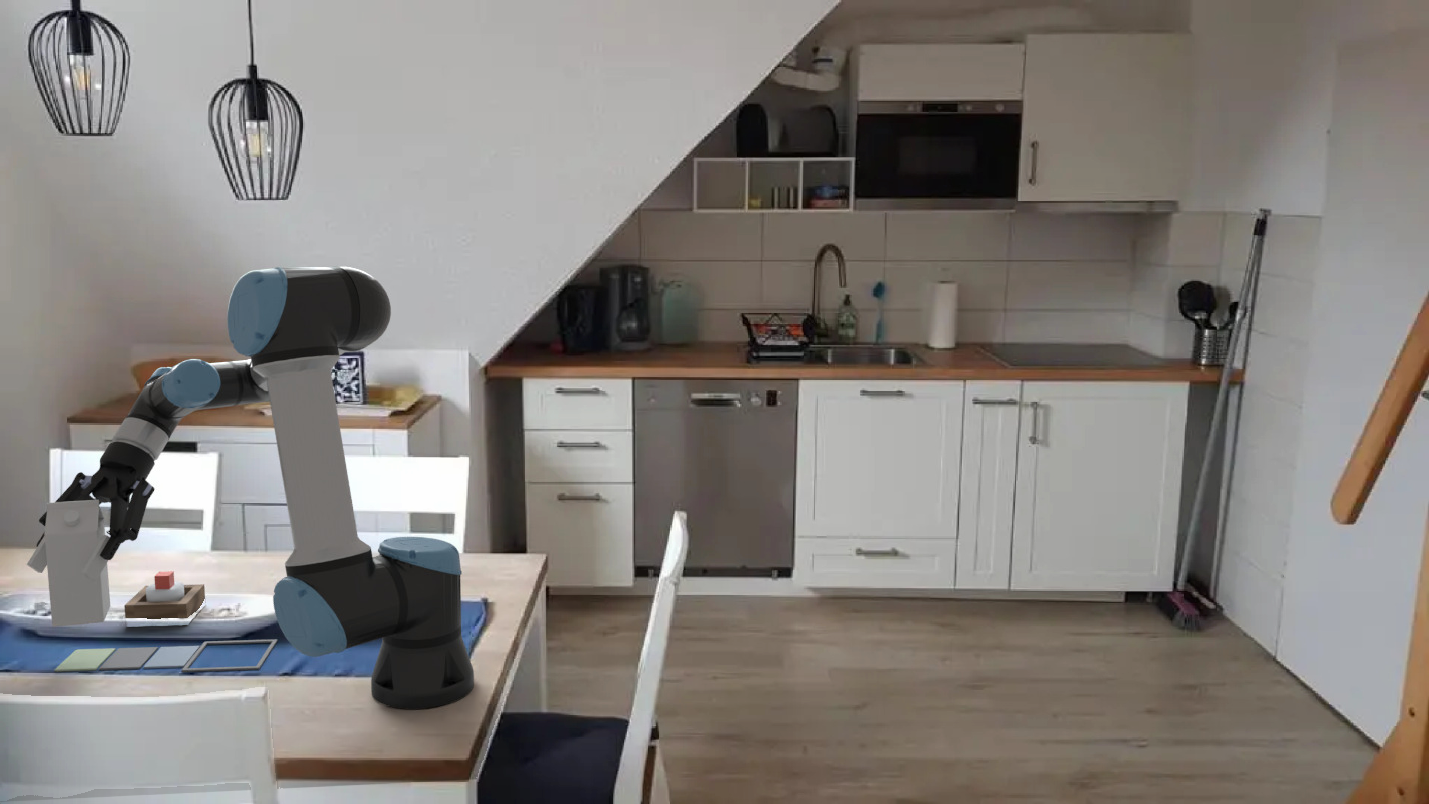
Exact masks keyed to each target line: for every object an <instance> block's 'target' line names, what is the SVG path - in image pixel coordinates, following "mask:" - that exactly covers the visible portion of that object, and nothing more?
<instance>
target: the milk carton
mask: <svg viewBox="0 0 1429 804" xmlns="http://www.w3.org/2000/svg"><path fill="white" fill-rule="evenodd" d="M46 511H47V516H46V525H45V526H44V532H45V533H44V532H43V533H44V535H45V546H46V558H47V566H46V569H47V579H48V591H49V593H48V594H49V601H50V606H49V607H50V615H51V625H52V627H53V628H56V627H67V626H75V625H76V626H77V625H86V624H98V623H104V622H105V620H106V617H107V615H108V613H109V610H110V608H111V598H110V597H111V595H110V584H109V568H108V563H107V564H106V565H105V567H104V569H103V570H102V572H101V574H100V576H99V577H98V579H97V581H93V580H91V579H90V578H89V577H87V576H86V575H84V574H83V573H82V571H83V569H84V567H85V565H86V564H87V562H88V560H89V559H90V557H91V555H92V554H93V552H94V550H95V548H96V547H97V545H98V543H99V542H100V540H101V538H102V536H103V535H106V528H105V517H104V515H103V512H102V510H101V507H100V505H99V500H86V501H70V502H55V501H54V502H46Z"/></svg>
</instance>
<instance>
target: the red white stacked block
mask: <svg viewBox="0 0 1429 804" xmlns="http://www.w3.org/2000/svg"><path fill="white" fill-rule="evenodd" d="M174 573H175V571H173V570H172V571H158V572H157V573H156V574H155V575H154V583H152V584H150V585H147V586H148V587H147V588H146V599H147V602H160V601H180V600H181V599H182V598H183V597H184V585H185V584H184V583H183V582H181V581H178V580H175V574H174Z"/></svg>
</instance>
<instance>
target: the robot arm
mask: <svg viewBox="0 0 1429 804" xmlns="http://www.w3.org/2000/svg"><path fill="white" fill-rule="evenodd" d="M230 294H231V295H230V297H229V300H228V301H229V302H228V306H227V316H226V317H227V331H228V337H229V340H230V342H231V344H233V348H234V350H235V351H236V352H237V353H238V354H240V355H242V356H243V355H244V356H245V357H250V359H243V360H233V361H223V362H211V363H209V362H207V361H205V360H202V359H199V358H190V359H186V360H184V361H183V360H182V361H181V362H179V363H177V364H176V365H173V366H172V367H171V366H167V367H165V366H162V367H159V368H157V369H156V370H154V371H153V372H152V375H151V376H150V378H149V379H147V380H146V381H145V383H144V387H143V388H142V390H141V392H140V393H139V395H138V397H137V398H136V399H135V402H134V403H133V405H132V407H131V409H130V410H129V412H128V414H127V415H126V416H125V418H124V419H123V421H122V422H121V424H120V425H119V427H118V429H117V431H116V432H115V434H114V435H113V436H112V438H111V441H112V442H110V443H109V444H108V445H107V447H106V449H105V450H104V452H103V454H102V455H101V457H100V458H99V468H98V470H96V472H95V473H93V474H92V475H86V474H85V473H84V472H82V471H81V472H78V473H77V474H76V475H75V477H74V478H73V480H72V483H71V484H70V485H69V486H68V487H67V488H66V490H64V492H63V493H62V494H60V496H59V497H58V498H57V499H56V500H55V501H54V502H70V501H86V500H99V506H100V505H101V504H103V503H104V504H106V503H107V504H108V503H110V516H109V517H110V518H109V530H107V531H106V530H105V533H107V534H108V535H107V534H105V535H103V536H102V538H101V540H100V542H99V543H98V545H97V547H96V548H95V550H94V552H93V554H92V555H91V557H90V559H89V560H88V562H87V564H86V565H85V567H84V569H83V571H82V573H83V574H84V575H86V576H87V577H89V578H90V579H91V580H93V581H97V579H98V577H99V576H100V574H101V572H102V570H103V569H104V567H105V565H106V564H107V565H108V562H109V561H112V559H113V558H114V556H115V555H116V553H117V552H118V549H119V547H120V546H121V545H122V544H123V543H125V542H126V541H131V542H133V541H136V540H137V539H138V535H139V533H140V529H141V526H142V522H143V520H144V517H145V512H146V509H147V506H148V505H147V504H148V502H149V500H150V498H151V496H152V495H153V494H154V491H155V487H154V485H152V484H150V483H149V482H148V481H147V478H148V476H149V475H150V473H151V471H152V470H153V468H154V466H155V461H156V460H158V459H159V458H160V455H161V454H162V452H163V451H164V448H165V447H166V445H167V443H168V442H169V440H170V438H171V436H172V434H173V433H174V432H175V429H176V428H177V427H178V426H179V424H180V421H181V420H182V419H183V418H185V417H187V416H188V415H190V414H192V413H193V412H195V411H200V410H201V411H202V410H209V409H217V408H218V409H219V408H226V407H228V408H229V407H234V406H241V405H250V404H260V403H269V404H270V405H269V406H270V410H271V416H272V422H273V429H274V435H275V440H276V447H277V453H278V458H279V463H280V464H279V466H280V470H281V475H282V477H281V478H282V482H283V488H284V494H285V495H284V496H285V501H286V507H287V513H288V519H289V524H290V525H289V526H290V530H291V537H292V544H293V550H292V552H291V554H289V555H290V556H289V557H288V558H287V560H286V561H285V562H284V566H285V567H284V568H285V573H286V576H285V577H283V578H281V579H280V580H279V581H278V582H277V583H276V585H275V586H274V589H273V592H274V594H273V595H272V596H273V597H272V601H273V609H274V613H275V617H276V620H277V623H278V624H279V628H280V629H281V632H282V633H283V635H284V637H285V638H286V640H287V641H288V642H289V643H290V644H291V646H292V647H293V648H294V649H295V650H296V651H298V652H299V653H301V654H303V655H305V656H307V657H312V658H313V657H314V658H317V657H322V656H326V655H329V654H333V653H334V654H338V653H343V652H344V651H345V650H346V649H351V648H353V647H358V646H361V645H363V644H367V643H369V642H373V641H376V640H380V639H381V645H380V649H379V652H378V655H377V658H376V660H375V665H374V668H373V671H372V675H371V679H370V684H371V686H370V687H371V696H372V697H373V699H374V700H375V701H377V702H378V703H380V704H382V705H384V706H387V707H390V708H391V707H393V708H395V709H396V708H397V709H407V710H408V709H409V710H410V709H411V710H412V709H413V710H415V709H416V710H418V709H429V708H436V707H441V706H444V705H448V704H451V703H453V702H456V701H459V700H460V699H462V698H464V697H466V696H467V695H469V693H470V692H471V691H472V690H473V688H474V685H475V678H474V677H475V673H474V666H473V665H472V662H471V661H472V660H471V659H470V656H469V654H468V651H467V648H466V645H465V642H464V641H463V640H464V639H463V637H462V597H461V595H462V594H461V590H462V589H461V575H462V570H461V559H460V552H459V551H458V549H457V547H456V546H455V545H454V544H452V543H451V542H447V541H445V540H442V539H437V538H432V537H424V536H423V537H422V536H398V537H397V536H395V537H390V538H386V539H384V540H382V541H381V542H380V543H379V546H378V548H377V552H378V554H379V555H376V556H373V553H372V546H370V545H369V544H367V543H366V542H364V541H363V540H361V539H360V538H359V536H358V530H357V524H356V523H357V522H356V519H355V518H356V517H355V512H354V505H353V499H352V495H351V494H352V493H351V486H350V481H349V475H348V468H347V462H346V458H345V451H344V443H343V439H342V432H341V425H340V418H339V414H338V407H337V402H336V395H335V390H334V384H333V383H334V382H333V377H332V371H333V370H332V369H333V368H334V367H335V366H336V364H337V363H338V362H339V360H340V359H341V357H340V356H341V355H343V354H344V353H347V352H348V353H349V352H350V353H353V352H358V351H361V350H364V349H365V348H367V347H368V346H370V345H372V344H374V342H376V341H377V340H378V339H379V338H381V337H382V336H383V335H384V333H385V331H386V330H387V328H388V326H389V324H390V321H391V315H392V310H391V302H390V298H389V296H388V294H387V292H386V290H385V288H384V287H383V286H382V284H381V283H380V282H379V281H378V280H377V279H376V278H375V277H374V276H372V275H371V274H369V273H367V272H365V271H364V270H360V269H357V268H353V267H349V266H332V267H331V266H330V267H329V266H327V267H325V266H324V267H322V266H321V267H320V266H319V267H314V266H313V267H311V266H309V267H306V266H305V267H281V266H280V267H279V266H277V267H274V268H273V267H271V268H263V269H255V270H249V271H248V272H246V273H245V274H243V275H242V276H240V278H239V279H238V281H237V282H236V283H235V285H234V287H233V289H232V293H230ZM91 494H92V496H91ZM46 516H47V510H46V511H45V512H44V513H43V514H42V516H40V517H39V520H38V522H39V524H42V525H43V526H44V527H45V525H46ZM44 533H45V531H44V532H43V533H42V535H41V537H40V538H39V540H38V541H37V543H36V545H35V547H36V549H35V550H34V552H33V554H32V555H31V557H30V558H29V560H28V561H27V563H26V565H27V566H28V567H30V568H31V569H33V570H34V571H35V572H37V573H41V574H43V572H44V571H45V569H46V568H47V558H46V546H45V535H44Z"/></svg>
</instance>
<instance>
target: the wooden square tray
mask: <svg viewBox="0 0 1429 804" xmlns="http://www.w3.org/2000/svg"><path fill="white" fill-rule="evenodd" d="M148 586H149V585H145V586H144V587H143V588H142V589H140V590H139V591H138V592H137V593H136V594H135V595H134V596H132V597H131V599H129V601H127V602H126V603H125V604H124V606H123V607H124V618H147V619H161V618H188V617H189V616H190V615H192V614H193V613H194V612H196V611H197V610H198V609H199V608H200V606H201V605H202V603H203V601H204V599H205V600H206V590H205V589H206V588H205V584H184V597H183V598H182V599H181V600H180V601H160V602H147V599H146V588H147V587H148Z"/></svg>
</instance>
